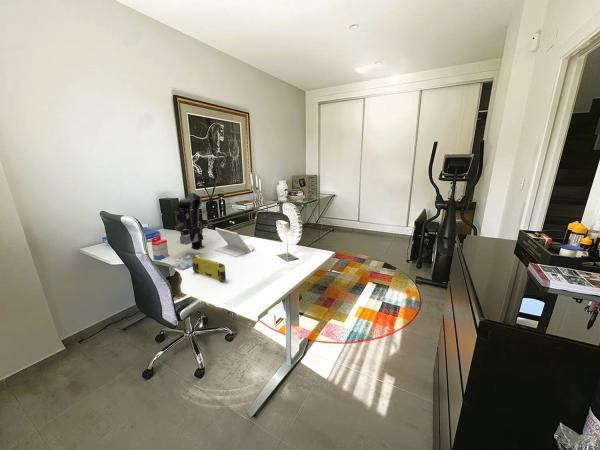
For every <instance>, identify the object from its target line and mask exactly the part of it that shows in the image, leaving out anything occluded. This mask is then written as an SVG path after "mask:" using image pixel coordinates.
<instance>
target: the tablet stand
mask: <svg viewBox="0 0 600 450" xmlns="http://www.w3.org/2000/svg"><path fill="white" fill-rule="evenodd" d="M214 229H215V231H217V233H218V234H219V236H221V238H222V239H223V240H224V241H225V242H226V245H223V246H220V247H217V248H214V251H217V252H219V253H222V254H225V255H227V256H230V257H233V258H238V257H241V256H244V255H247V254H248V253H252V252H253V251H254V250H255V247H254V246H252V245H249V244H246V242H245V241H244V240H243V239H242V237H241V236H240V235H239V234H238V232H235V231H231V230H227V229H223V228H219V227H215V228H214ZM246 253H247V254H246Z"/></svg>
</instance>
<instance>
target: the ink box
mask: <svg viewBox="0 0 600 450" xmlns="http://www.w3.org/2000/svg"><path fill="white" fill-rule="evenodd" d="M161 237H162V236H161V235H157V236H155V237H151V239H150V240H151V241H150V242H151V248H152V256H153V260H157V261H160V260H162V259H165V258H166V257H169V256H170V255H169V249H168V241H167V239H163V238H161Z"/></svg>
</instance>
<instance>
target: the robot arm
mask: <svg viewBox="0 0 600 450" xmlns="http://www.w3.org/2000/svg"><path fill="white" fill-rule="evenodd" d="M202 200H203V199H202V197H201V196H200V195H198V194H197V193H194V192H190V193H188V195H187V196H186V197H185V198H184V199H183V198H182V199H180V200H179V202H178V203H177V204H178V206H177V212H179V213H177V216H176V219H177V221H178V222H180V224H179V223H178V224H176V225H175V226H174V229H175V231H176V232H179V233H180V232H182V233H183V235H187V234H188V233H189V234H190V238H191V241H193V240H194V237H195V235H196V234H198V241H197V242H193V243H191V249H195V250H198V249H201V248H204V247H205V246H204V245H203V240H204V235H203V232H202V233H201V229H200V226H199V225H200V223H199V222H200V220H199V218H200V208H201V207H202V203H203V201H202ZM191 211H192V212H191ZM189 231H190V232H189Z"/></svg>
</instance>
